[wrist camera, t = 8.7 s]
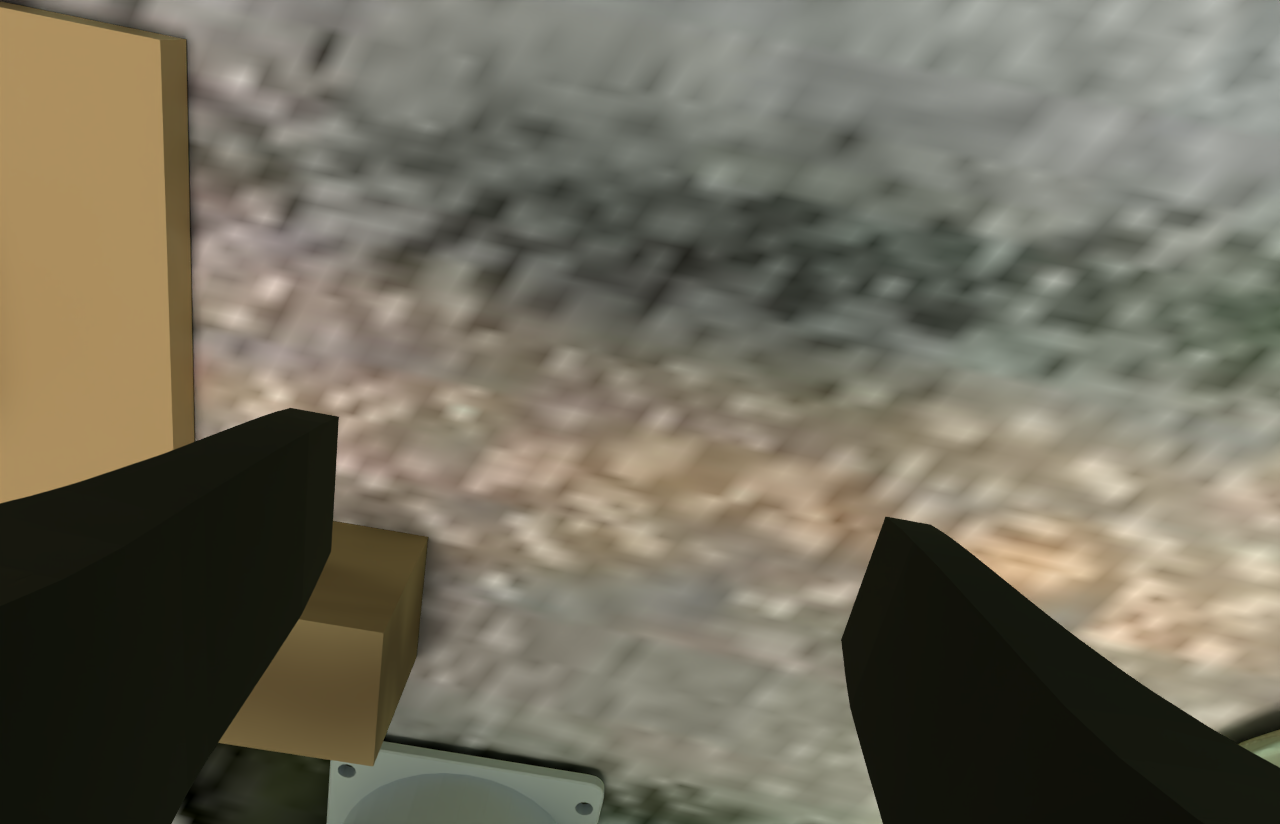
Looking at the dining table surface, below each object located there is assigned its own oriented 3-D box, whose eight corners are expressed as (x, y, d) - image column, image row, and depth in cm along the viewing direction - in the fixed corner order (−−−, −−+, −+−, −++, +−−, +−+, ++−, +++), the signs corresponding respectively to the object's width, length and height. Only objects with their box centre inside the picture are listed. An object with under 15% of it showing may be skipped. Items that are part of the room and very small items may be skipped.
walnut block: (417, 655, 24) (373, 766, 20) (273, 632, 24) (203, 740, 20) (428, 535, 23) (383, 633, 19) (275, 509, 22) (199, 603, 19)
